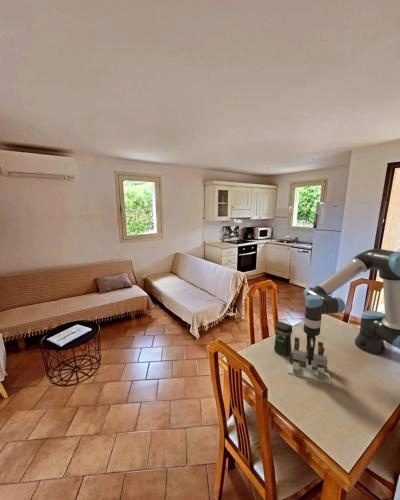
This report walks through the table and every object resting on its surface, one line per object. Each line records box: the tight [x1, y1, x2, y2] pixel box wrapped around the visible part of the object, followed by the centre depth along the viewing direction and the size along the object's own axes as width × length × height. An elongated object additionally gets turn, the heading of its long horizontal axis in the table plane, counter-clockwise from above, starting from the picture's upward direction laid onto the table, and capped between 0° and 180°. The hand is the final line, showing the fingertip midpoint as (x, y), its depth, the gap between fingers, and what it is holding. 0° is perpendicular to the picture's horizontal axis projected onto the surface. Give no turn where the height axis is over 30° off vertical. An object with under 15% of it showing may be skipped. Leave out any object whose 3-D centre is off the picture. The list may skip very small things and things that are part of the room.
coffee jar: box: [273, 320, 293, 357], centre depth 133 cm, size 10×8×19 cm
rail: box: [292, 349, 328, 367], centre depth 115 cm, size 16×3×3 cm, turn 68°
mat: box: [287, 362, 332, 385], centre depth 116 cm, size 20×7×3 cm, turn 68°
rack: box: [289, 336, 327, 372], centre depth 122 cm, size 18×6×13 cm, turn 68°
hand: (308, 366), depth 115 cm, fingers closed on rail, 3 cm apart
